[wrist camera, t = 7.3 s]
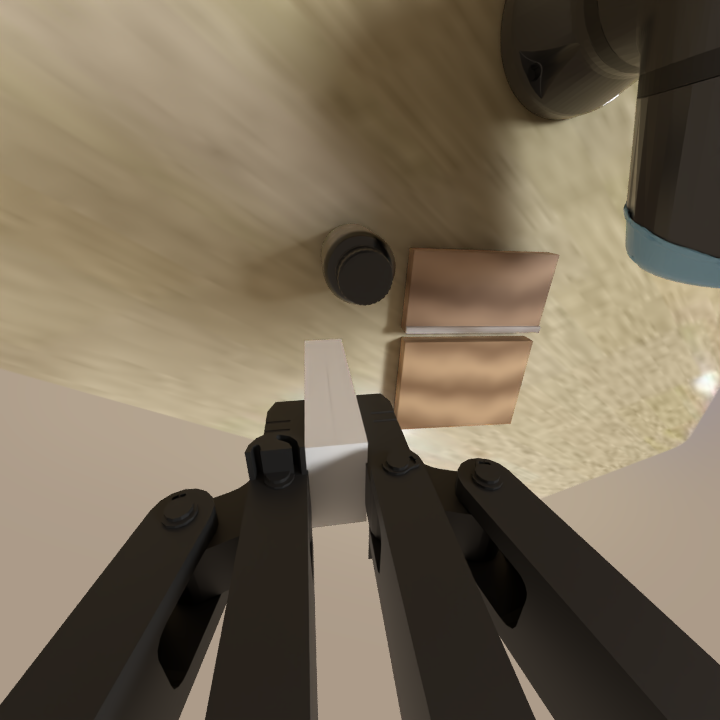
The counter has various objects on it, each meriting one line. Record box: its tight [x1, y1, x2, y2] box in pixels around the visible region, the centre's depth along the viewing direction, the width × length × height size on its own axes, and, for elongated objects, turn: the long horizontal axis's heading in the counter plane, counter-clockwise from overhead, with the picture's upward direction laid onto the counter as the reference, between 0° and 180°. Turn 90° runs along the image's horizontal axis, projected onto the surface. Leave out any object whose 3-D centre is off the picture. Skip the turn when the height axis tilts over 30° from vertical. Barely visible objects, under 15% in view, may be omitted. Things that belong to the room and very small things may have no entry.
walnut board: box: [401, 248, 559, 334], centre depth 42 cm, size 10×18×2 cm, turn 87°
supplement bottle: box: [321, 224, 395, 305], centre depth 34 cm, size 7×7×12 cm
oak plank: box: [394, 336, 533, 429], centre depth 48 cm, size 13×18×2 cm
